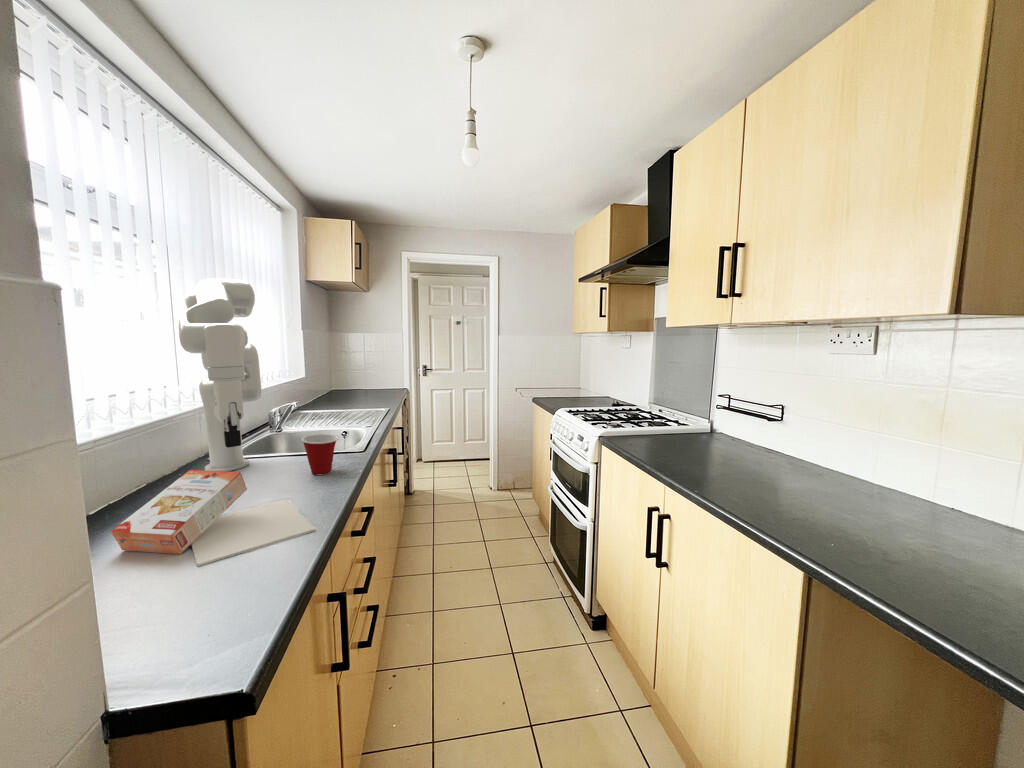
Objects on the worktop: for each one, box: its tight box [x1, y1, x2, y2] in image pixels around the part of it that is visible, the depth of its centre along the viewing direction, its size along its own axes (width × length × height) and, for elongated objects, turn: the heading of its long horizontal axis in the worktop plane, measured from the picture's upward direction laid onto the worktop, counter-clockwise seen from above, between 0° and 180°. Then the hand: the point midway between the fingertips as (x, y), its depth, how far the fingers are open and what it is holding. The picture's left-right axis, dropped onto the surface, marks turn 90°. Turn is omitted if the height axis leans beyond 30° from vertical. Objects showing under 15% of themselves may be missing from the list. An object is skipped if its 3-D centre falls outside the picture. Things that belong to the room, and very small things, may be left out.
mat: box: [190, 498, 316, 567], centre depth 98 cm, size 24×22×1 cm
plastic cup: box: [301, 433, 339, 475], centre depth 137 cm, size 11×11×12 cm
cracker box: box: [110, 469, 248, 555], centre depth 95 cm, size 14×6×21 cm
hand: (233, 445), depth 105 cm, fingers closed
